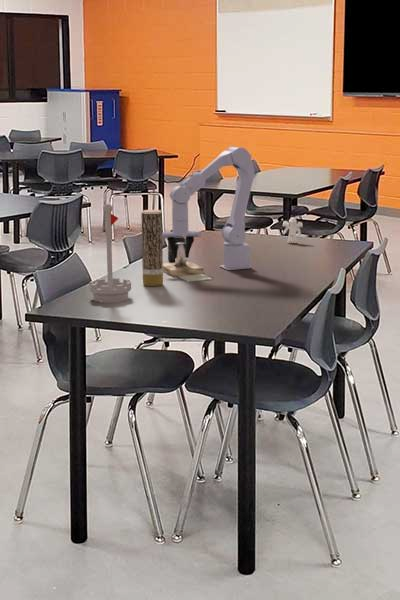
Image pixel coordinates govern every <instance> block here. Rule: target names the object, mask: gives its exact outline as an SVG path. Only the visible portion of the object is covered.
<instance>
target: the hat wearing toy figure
mask: <svg viewBox="0 0 400 600" xmlns="http://www.w3.org/2000/svg"><path fill="white" fill-rule="evenodd" d="M300 217H301V215H299V214H298V215H295V216H291V217H290V219H289V220H284V221H283V223H282V227H284V230H283V232H282V234H283V235H285V234H287V232H288V237H287V242H288V241H292V242H293V241H297V242H298V240H297V235H298V237H301V235H302V232H301V228H303V222H302V221H297V220H298V219H299V218H300Z"/></svg>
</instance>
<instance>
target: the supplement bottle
mask: <svg viewBox="0 0 400 600" xmlns="http://www.w3.org/2000/svg"><path fill="white" fill-rule="evenodd" d="M169 232H173V229H171V230H169ZM174 239H175V241H176V243H186V239H185V238H174ZM167 261H168V262H169V263H175V258H173V253H172V249H171V246H170V244H169V242H168V241H167Z"/></svg>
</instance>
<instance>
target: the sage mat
mask: <svg viewBox="0 0 400 600" xmlns="http://www.w3.org/2000/svg"><path fill="white" fill-rule="evenodd" d="M178 278H180V279H182V280H183V281H185V282H187V283H191V282H193V283H194V282H201V281H203V282H204V281H213V278H212V277H209V276H208V275H205V274H204V273H203V274H192V275H180V276H178Z"/></svg>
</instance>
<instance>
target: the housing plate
mask: <svg viewBox="0 0 400 600" xmlns="http://www.w3.org/2000/svg"><path fill="white" fill-rule="evenodd" d="M204 270H205V269H204V267H202V266H200V265H199V264H195V263H193V262H192V261H186V266H175V262H165V263H163V273H165V274H166V275H169V276H171V277H176V276H178V277H179V276H185V275H196V274H203V275H204Z"/></svg>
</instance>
